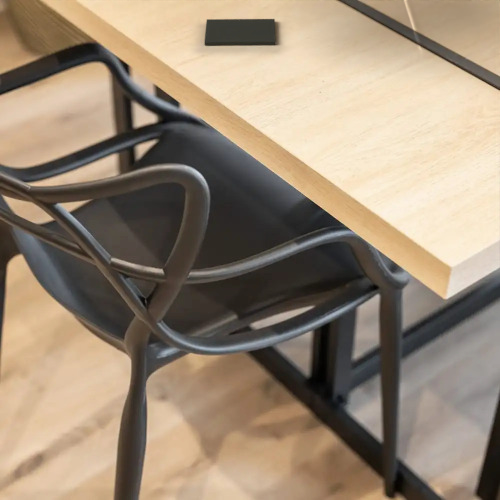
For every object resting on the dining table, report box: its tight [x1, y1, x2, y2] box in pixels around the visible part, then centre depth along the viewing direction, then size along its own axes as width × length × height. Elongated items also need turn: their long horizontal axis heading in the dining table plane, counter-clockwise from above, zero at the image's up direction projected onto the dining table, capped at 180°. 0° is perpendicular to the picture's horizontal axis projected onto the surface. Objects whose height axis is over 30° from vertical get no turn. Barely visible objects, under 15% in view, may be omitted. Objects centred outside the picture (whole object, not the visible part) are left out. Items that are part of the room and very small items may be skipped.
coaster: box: [204, 18, 276, 46], centre depth 93 cm, size 8×6×1 cm
